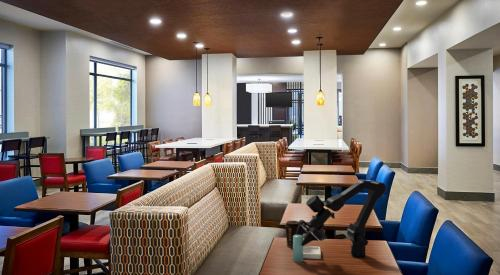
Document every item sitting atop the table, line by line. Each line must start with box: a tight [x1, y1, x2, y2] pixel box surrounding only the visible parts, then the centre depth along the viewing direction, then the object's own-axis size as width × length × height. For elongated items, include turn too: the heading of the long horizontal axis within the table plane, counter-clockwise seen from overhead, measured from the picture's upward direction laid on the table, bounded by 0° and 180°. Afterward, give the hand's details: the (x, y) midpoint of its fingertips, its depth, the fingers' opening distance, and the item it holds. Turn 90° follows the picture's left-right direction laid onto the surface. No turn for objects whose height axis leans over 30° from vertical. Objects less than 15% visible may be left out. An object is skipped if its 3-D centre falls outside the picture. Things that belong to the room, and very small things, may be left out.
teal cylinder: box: [292, 235, 304, 263], centre depth 194 cm, size 5×5×12 cm
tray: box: [303, 245, 322, 260], centre depth 203 cm, size 12×12×2 cm
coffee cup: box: [284, 220, 300, 249], centre depth 216 cm, size 9×8×13 cm
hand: (298, 242), depth 194 cm, fingers open, 9 cm apart
